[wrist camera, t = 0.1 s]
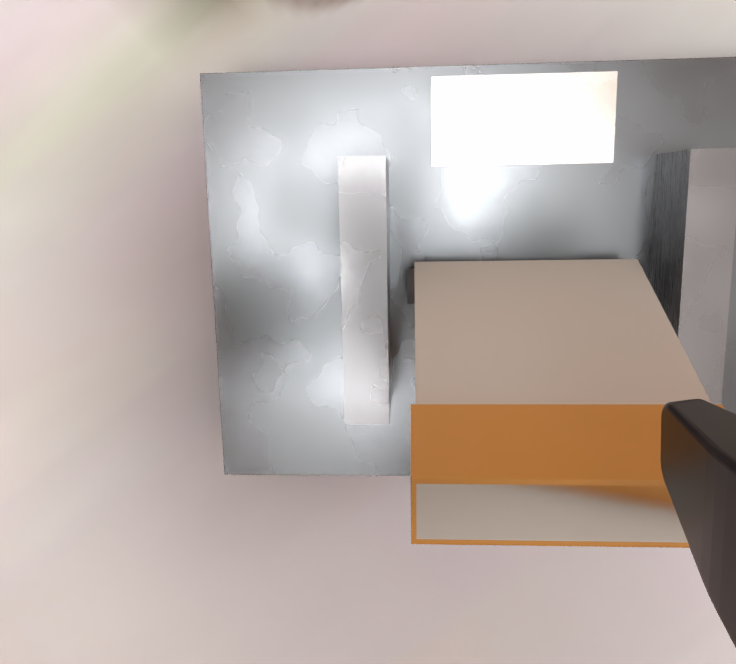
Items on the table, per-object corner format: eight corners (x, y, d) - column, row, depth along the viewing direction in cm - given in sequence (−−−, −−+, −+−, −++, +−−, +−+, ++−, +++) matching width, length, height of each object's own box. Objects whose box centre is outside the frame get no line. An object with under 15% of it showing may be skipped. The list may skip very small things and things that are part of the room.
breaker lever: (629, 302, 20) (739, 548, 14) (407, 304, 21) (406, 543, 14) (641, 244, 19) (768, 481, 12) (406, 248, 20) (405, 477, 13)
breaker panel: (769, 443, 24) (872, 516, 19) (246, 441, 25) (201, 509, 20) (804, 72, 22) (934, 31, 16) (227, 89, 23) (169, 56, 17)
